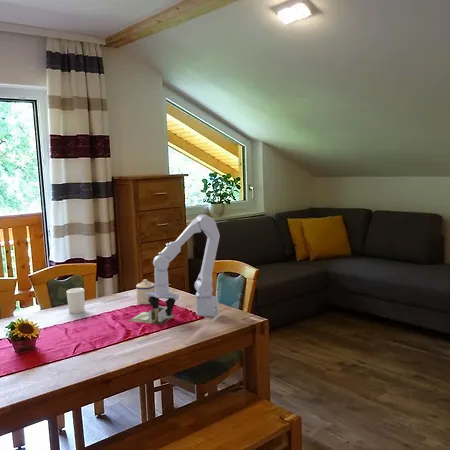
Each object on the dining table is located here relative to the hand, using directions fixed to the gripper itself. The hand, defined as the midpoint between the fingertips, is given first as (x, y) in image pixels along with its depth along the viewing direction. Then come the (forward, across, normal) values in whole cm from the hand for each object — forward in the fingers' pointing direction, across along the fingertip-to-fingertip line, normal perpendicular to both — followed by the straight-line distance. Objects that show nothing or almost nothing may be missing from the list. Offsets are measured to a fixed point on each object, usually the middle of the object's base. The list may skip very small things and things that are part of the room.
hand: (163, 314), depth 211 cm
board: (+2, -4, -1) cm, 5 cm away
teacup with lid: (+3, -20, +21) cm, 29 cm away
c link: (+1, 0, -3) cm, 3 cm away
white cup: (+3, -44, 0) cm, 45 cm away
